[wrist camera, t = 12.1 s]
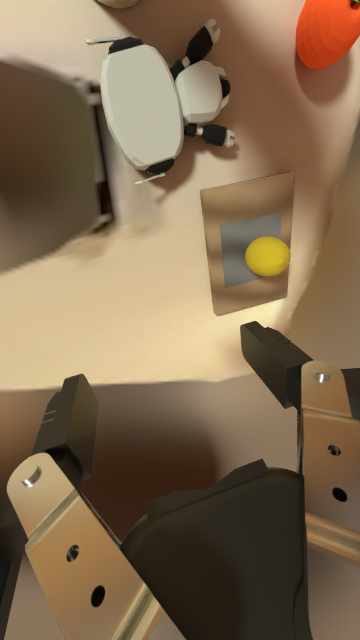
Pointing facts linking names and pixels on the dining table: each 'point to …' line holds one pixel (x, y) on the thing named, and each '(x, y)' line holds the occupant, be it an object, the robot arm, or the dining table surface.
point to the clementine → (327, 31)
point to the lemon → (267, 256)
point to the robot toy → (162, 99)
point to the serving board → (245, 238)
